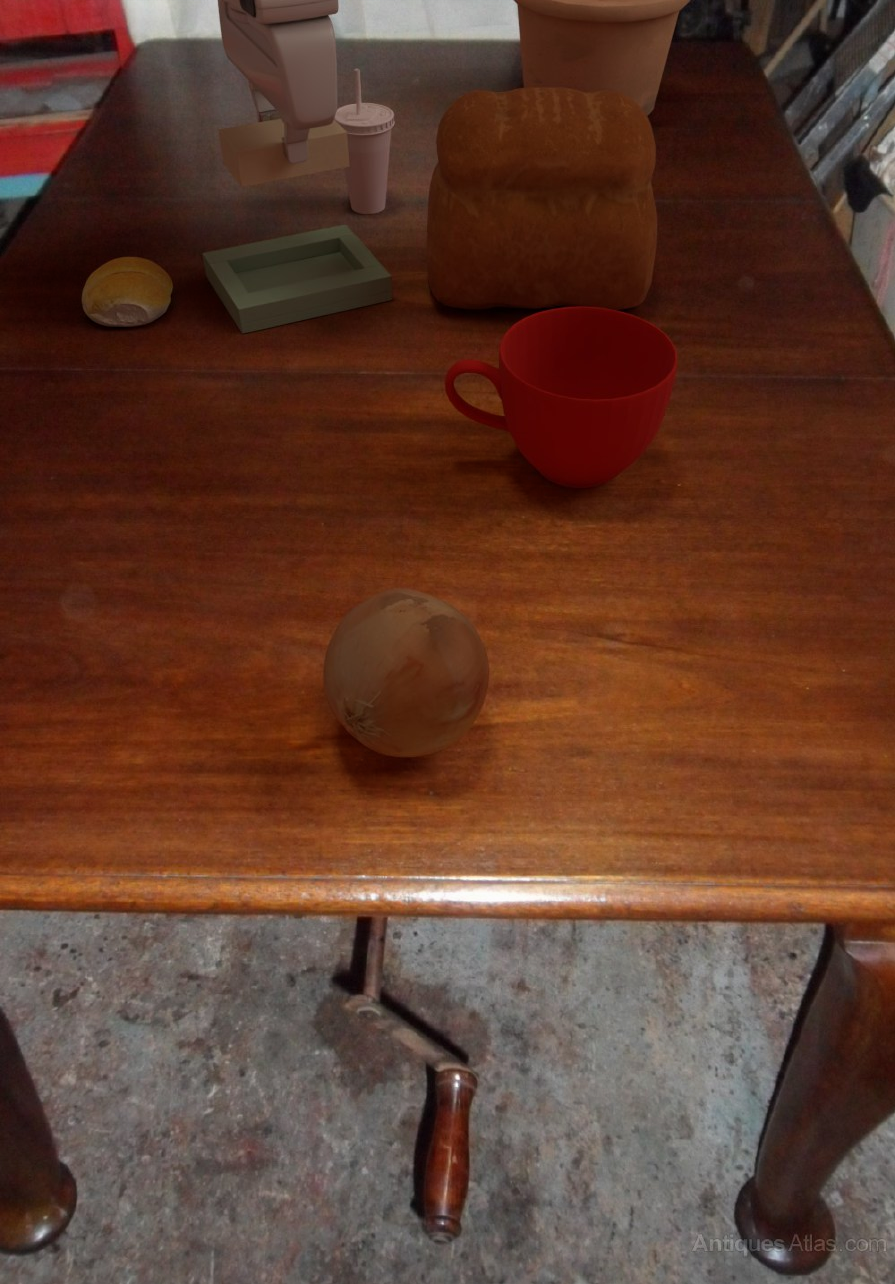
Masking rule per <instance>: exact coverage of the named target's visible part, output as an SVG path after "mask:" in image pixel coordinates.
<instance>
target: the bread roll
mask: <svg viewBox="0 0 895 1284" xmlns="http://www.w3.org/2000/svg"><path fill="white" fill-rule="evenodd" d="M173 289H174V285H173V281H172V278H171V276H170V275H169V274H168V272H167V271H166V270H165V269H164V268H163V267H161V266H160V265H158V264H157V263H156V262H154V261H152V260H150V259H146V258H143V257H139V256H123V257H117V258H114V259H112V260H109V261H107V262H105V263H104V264H102V265H100V266H99V267H98V268H97V269H95V270H94V271H93V272H91V274H90V275H89V276H88V278H87V279H86V282H85V284H84V287H83V289H82V295H81V304H82V309H83V311H84V313H85V315H86V316H87V317H88V318H89V319H90V320H91V321H92V322H93V323H96V324H98V325H101V326H104V327H110V328H111V327H112V328H116V327H119V328H121V327H122V328H132V327H134V328H135V327H140V326H144V325H148V324H150V323H151V324H152V323H153V322H154V321H156V320H157V319H159V318H160V317H162V316H163V315H164V314H165V313H166V312H167V310H168V308H169V305H170V304H171V301H172V298H171V295H172V292H173Z"/></svg>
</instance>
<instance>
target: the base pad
mask: <svg viewBox="0 0 895 1284" xmlns="http://www.w3.org/2000/svg"><path fill="white" fill-rule="evenodd" d="M202 261H203V265H204V271H205V276H206V279H207V280H208V282H209V283H210V285H211V287H213V290H214V291H215V293H216V295H217V296H218V298H219V299H220V301H221V302H222V304H223V306H224V308H225V309H226V310H227V312H228V314H229V315H230V316H231V318H232V320H233V321H234V323H235V324H236V325H235V326H237V328H238V329H239V331H240V333H241V334H243V335H244V334H249V333H254V332H258V331H262V330H267V329H270V328H274V327H279V326H284V325H289V324H293V323H297V322H301V321H306V320H310V319H314V318H318V317H323V316H328V315H332V314H337V313H341V312H345V311H350V310H354V309H359V308H363V307H368V306H372V305H376V304H381V303H385V302H391V301H392V300H393V281H392V279H393V278H392V277H393V276H392V275H391V273H389V272H388V271H389V270H387V268H385V267H384V265H382V263H381V262H380V261H379V260H378V259H377V258H376V256H374V254H373V252H371V251H370V250H369V249H368V248H367V246H366V245H365V244H364V243H363V241H361V239H360V238H359V237H358V236H357V235H356V234H355V233H354V231H352V229H351V228H350V227H349V226H348V225H347V224H341V225H335V226H330V227H325V228H320V229H316V230H310V231H306V232H300V233H296V234H291V235H286V236H281V237H275V238H270V239H266V240H260V241H256V242H250V243H246V244H241V245H237V246H230V247H226V248H221V249H216V250H211V251H210V250H209V251H206V252H202Z"/></svg>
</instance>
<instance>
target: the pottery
mask: <svg viewBox="0 0 895 1284" xmlns="http://www.w3.org/2000/svg"><path fill="white" fill-rule="evenodd" d="M513 2H514V3H515V4H516V6H517V17H518V19H517V20H518V30H519V44H520V45H519V46H520V57H521V58H520V59H521V70H522V83H523V84H522V85H523V88H528V87H562V88H570V89H575V90H578V91H582V92H585V93H590V92H596V91H601V90H613V91H617V92H621V93H623V94H625V95H627V96H629V97H630V98H631V99H633V100H634V101H635V102H636V103H637V104H638V105H639V106H640V108H641V109H642V110H643V111H644V113H645V114H646V115H647V117H648V116H649V115H650V114H651V113H652V112H653V111H654V110H655V105H656V100H657V96H658V93H659V89H660V85H661V81H662V78H663V73H664V70H665V67H666V63H667V59H668V55H669V53H670V52H669V51H670V47H671V44H672V39H673V36H674V32H675V28H676V24H677V22H678V17H679V14H680V11H681V10H682V9H683V8H684V7H686V6H687V5H688V4H689V3H690V2H691V0H513Z"/></svg>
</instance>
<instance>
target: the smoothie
mask: <svg viewBox="0 0 895 1284" xmlns="http://www.w3.org/2000/svg"><path fill="white" fill-rule="evenodd" d="M353 72H354V91H355V103H351V104H345V105H342V106H341V107H339V108H337V111H336V115H335V118H334V120H335V121H336V122H337V123H338V124H339V125H340V126H341V127H342V128H343V129H344V130H345V131H346V132H347V142H348V156H349V167H345V168H343V170H344V176H345V180H346V186H347V192H348V197H349V202H350V207H351V210H352V211H353V212H355V213H357V214H361V215H374V214H378V213H381V212H383V211H384V210H385V209H386V202H387V201H386V200H387V188H388V178H389V177H388V176H389V175H388V174H389V166H390V165H389V164H390V149H391V139H392V129H393V128H394V127H395V124H396V121H395V113H394V111H393V110H392V108H390V107H388V106H385V105H383V104H380V103H371V102H362V87H361V86H362V85H361V84H362V83H361V69H360V68H354V70H353Z"/></svg>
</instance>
